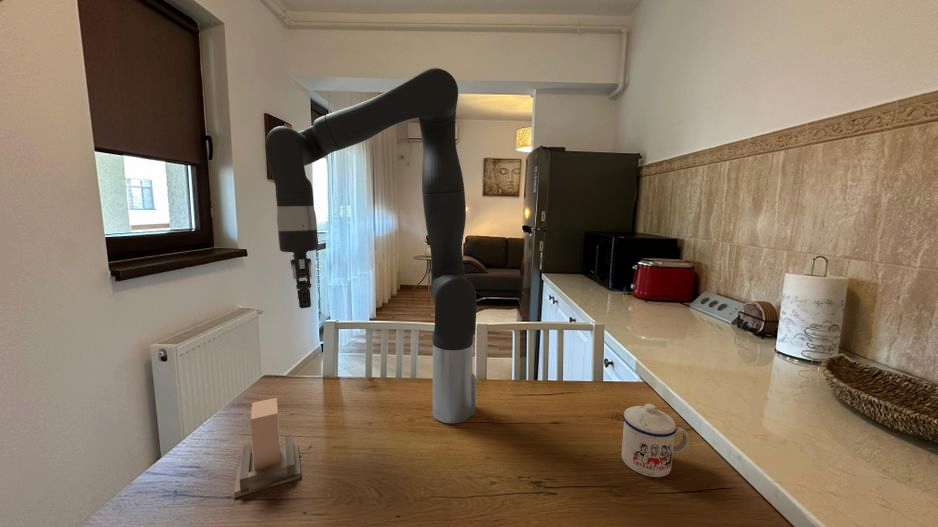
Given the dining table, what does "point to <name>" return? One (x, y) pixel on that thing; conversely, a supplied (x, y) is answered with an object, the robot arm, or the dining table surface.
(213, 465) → the dining table surface
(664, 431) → the teacup with lid
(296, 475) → the tray
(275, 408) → the clay block
